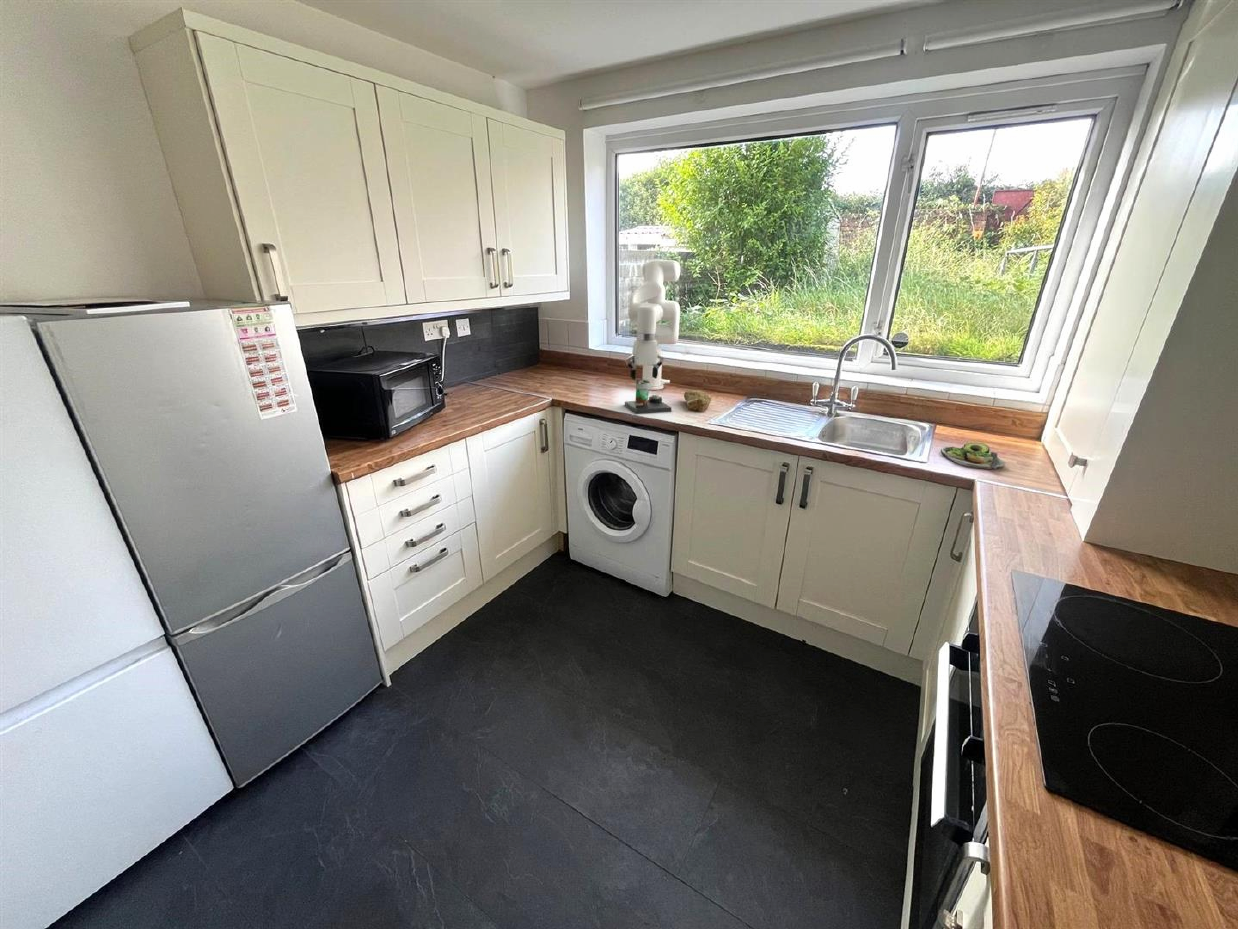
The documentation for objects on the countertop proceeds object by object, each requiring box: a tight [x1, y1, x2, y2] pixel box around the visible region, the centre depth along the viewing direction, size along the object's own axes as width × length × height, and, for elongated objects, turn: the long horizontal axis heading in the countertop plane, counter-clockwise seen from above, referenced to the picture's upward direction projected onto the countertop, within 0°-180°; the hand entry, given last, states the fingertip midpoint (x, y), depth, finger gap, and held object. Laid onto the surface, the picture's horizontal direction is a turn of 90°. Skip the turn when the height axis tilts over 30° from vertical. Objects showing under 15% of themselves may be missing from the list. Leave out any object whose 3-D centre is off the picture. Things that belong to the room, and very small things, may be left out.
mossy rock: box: [683, 389, 712, 412], centre depth 221 cm, size 13×8×20 cm
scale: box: [624, 395, 672, 415], centre depth 215 cm, size 16×14×4 cm
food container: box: [634, 378, 651, 407], centre depth 212 cm, size 12×6×10 cm, turn 179°
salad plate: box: [940, 442, 1007, 470], centre depth 165 cm, size 19×18×5 cm
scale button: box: [651, 393, 660, 399], centre depth 220 cm, size 3×3×2 cm
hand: (643, 378), depth 211 cm, fingers open, 9 cm apart
